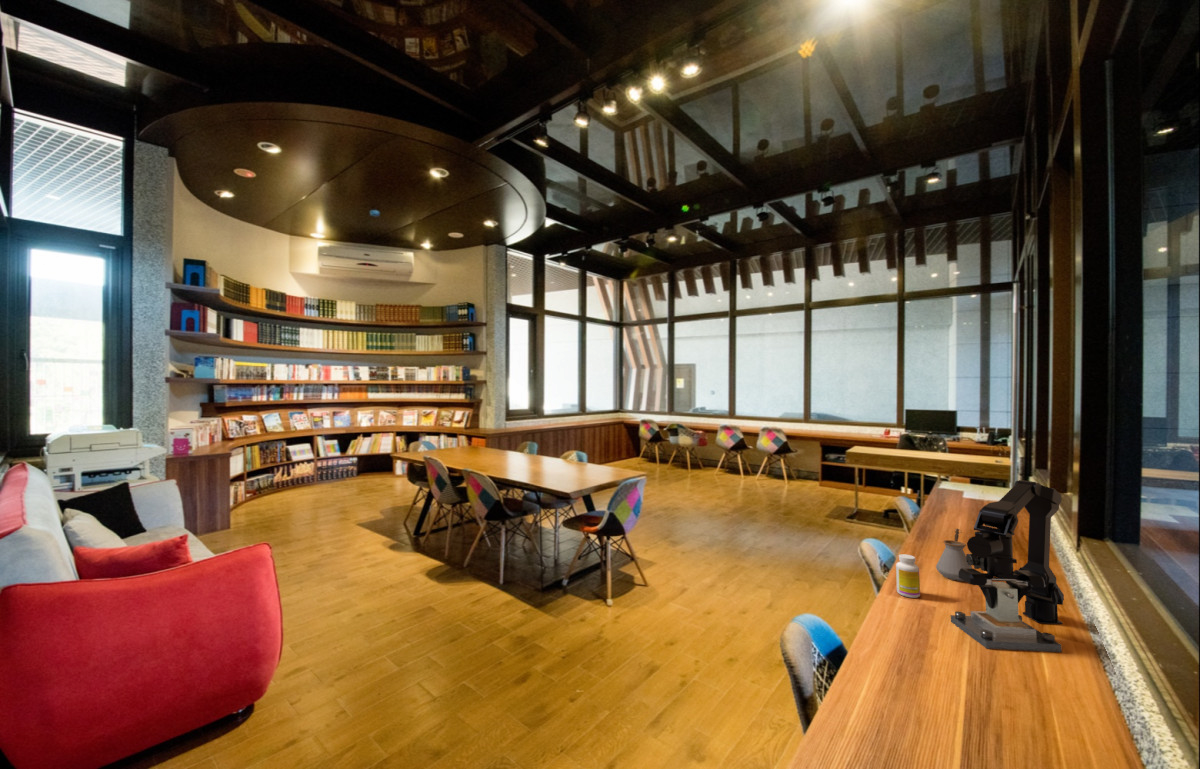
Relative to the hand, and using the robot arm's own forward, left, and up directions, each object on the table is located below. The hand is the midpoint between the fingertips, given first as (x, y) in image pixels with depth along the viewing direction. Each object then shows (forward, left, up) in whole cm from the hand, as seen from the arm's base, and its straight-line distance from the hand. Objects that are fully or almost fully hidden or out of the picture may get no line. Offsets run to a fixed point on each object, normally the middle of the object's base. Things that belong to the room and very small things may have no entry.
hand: (1001, 608), depth 130 cm
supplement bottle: (+11, -27, -8) cm, 30 cm away
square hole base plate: (0, 0, -8) cm, 8 cm away
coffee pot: (-17, -49, -8) cm, 52 cm away
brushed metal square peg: (0, 0, -3) cm, 3 cm away
